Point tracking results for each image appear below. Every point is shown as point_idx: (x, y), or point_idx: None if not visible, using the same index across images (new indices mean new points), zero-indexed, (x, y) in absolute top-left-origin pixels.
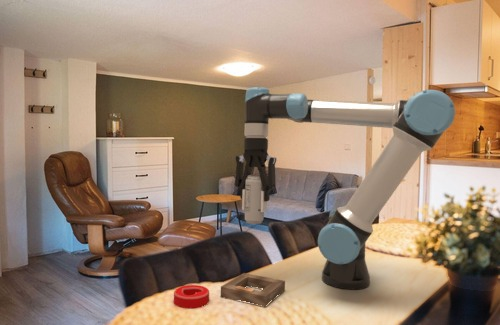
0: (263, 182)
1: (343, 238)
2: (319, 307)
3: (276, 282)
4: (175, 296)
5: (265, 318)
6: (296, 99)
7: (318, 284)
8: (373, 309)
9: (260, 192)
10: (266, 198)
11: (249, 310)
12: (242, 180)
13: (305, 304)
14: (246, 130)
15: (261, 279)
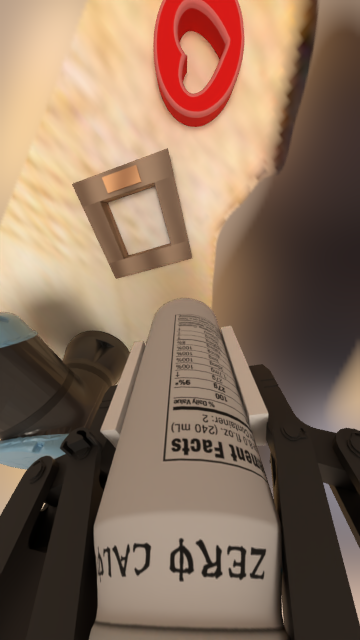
0: (71, 521)
1: None
2: (44, 258)
3: (118, 262)
4: None
5: (43, 143)
6: None
7: (112, 325)
8: (11, 303)
9: (124, 420)
10: (106, 398)
11: (86, 149)
12: (321, 520)
13: (63, 252)
14: None
15: (145, 254)
